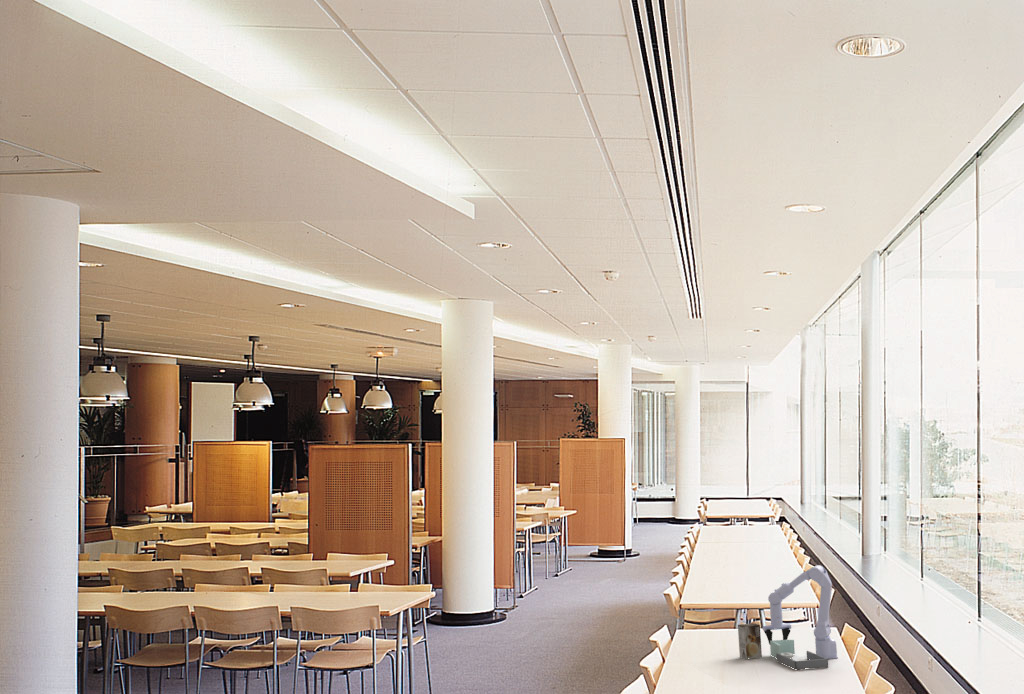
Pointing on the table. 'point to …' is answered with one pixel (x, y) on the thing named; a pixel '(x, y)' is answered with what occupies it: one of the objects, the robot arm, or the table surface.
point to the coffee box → (749, 640)
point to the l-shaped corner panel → (782, 648)
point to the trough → (814, 661)
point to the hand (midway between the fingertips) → (777, 644)
